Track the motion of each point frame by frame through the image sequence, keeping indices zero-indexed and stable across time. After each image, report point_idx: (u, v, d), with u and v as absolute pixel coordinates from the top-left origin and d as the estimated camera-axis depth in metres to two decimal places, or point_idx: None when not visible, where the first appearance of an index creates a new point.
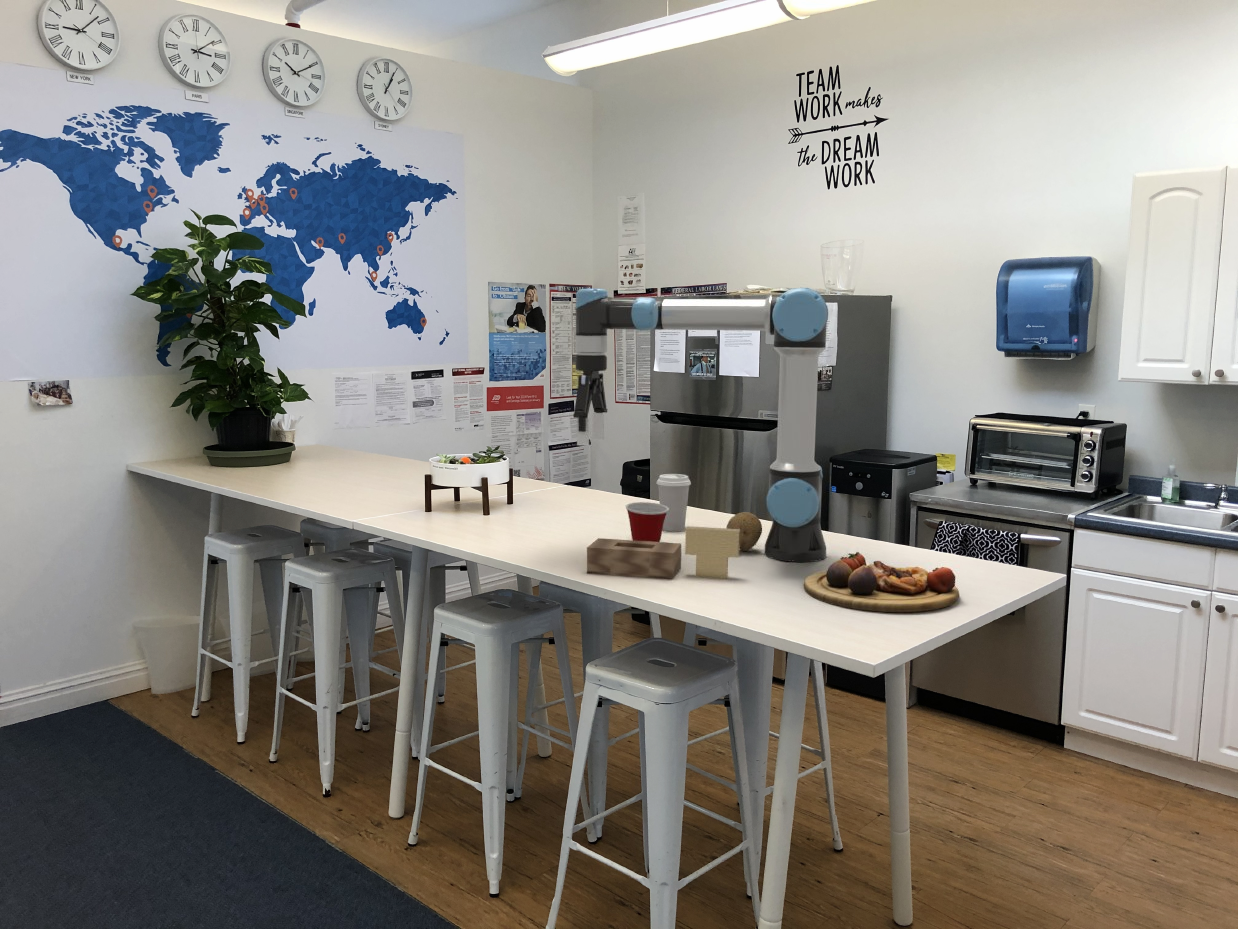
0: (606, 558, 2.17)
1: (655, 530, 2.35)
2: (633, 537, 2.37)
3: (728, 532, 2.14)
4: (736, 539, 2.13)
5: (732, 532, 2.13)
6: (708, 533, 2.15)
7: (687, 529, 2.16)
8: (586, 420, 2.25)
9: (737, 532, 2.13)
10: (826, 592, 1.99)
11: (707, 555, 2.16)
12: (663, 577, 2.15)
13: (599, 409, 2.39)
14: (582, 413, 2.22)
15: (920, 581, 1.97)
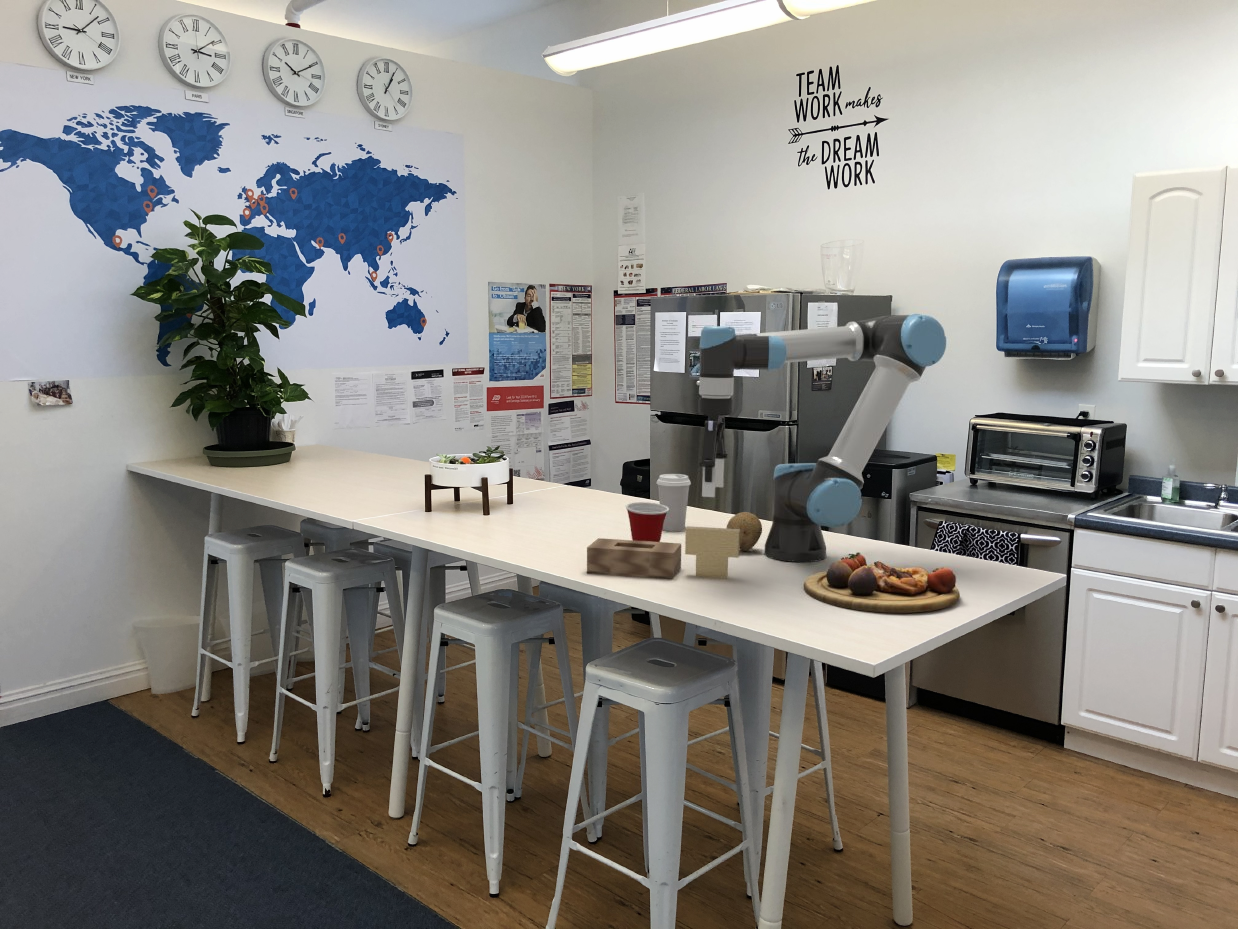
0: (606, 558, 2.17)
1: (655, 530, 2.35)
2: (633, 537, 2.37)
3: (728, 532, 2.14)
4: (736, 539, 2.13)
5: (732, 532, 2.13)
6: (708, 533, 2.15)
7: (687, 529, 2.16)
8: (713, 469, 2.06)
9: (737, 532, 2.13)
10: (826, 592, 1.98)
11: (707, 555, 2.16)
12: (663, 577, 2.15)
13: (719, 455, 2.20)
14: (710, 463, 2.03)
15: (920, 582, 1.96)
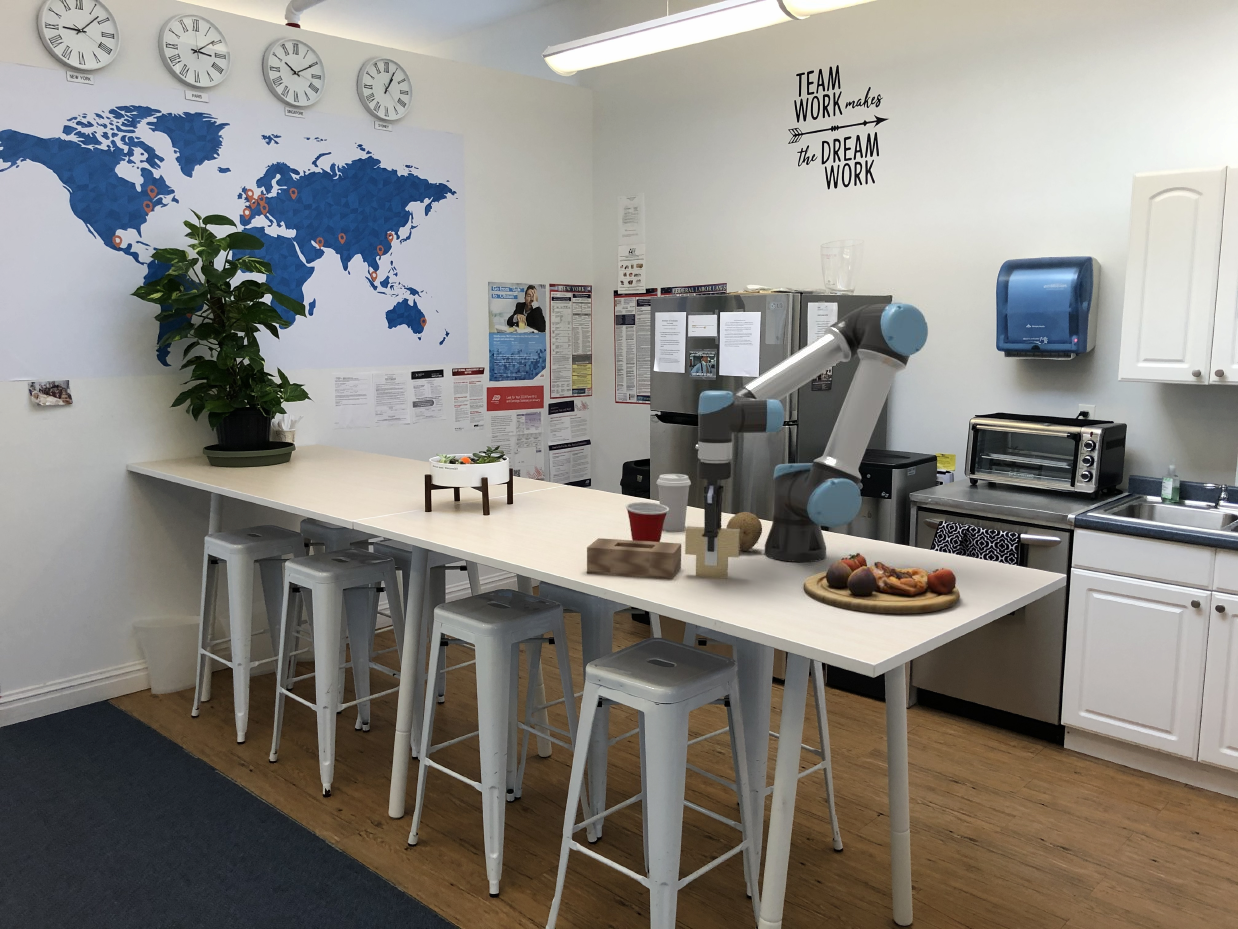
0: (606, 558, 2.17)
1: (655, 530, 2.35)
2: (633, 537, 2.37)
3: (728, 532, 2.14)
4: (736, 538, 2.13)
5: (732, 532, 2.13)
6: None
7: (687, 529, 2.16)
8: (715, 539, 2.14)
9: (737, 532, 2.13)
10: (825, 593, 1.98)
11: None
12: (663, 577, 2.15)
13: None
14: (713, 534, 2.11)
15: (920, 582, 1.96)
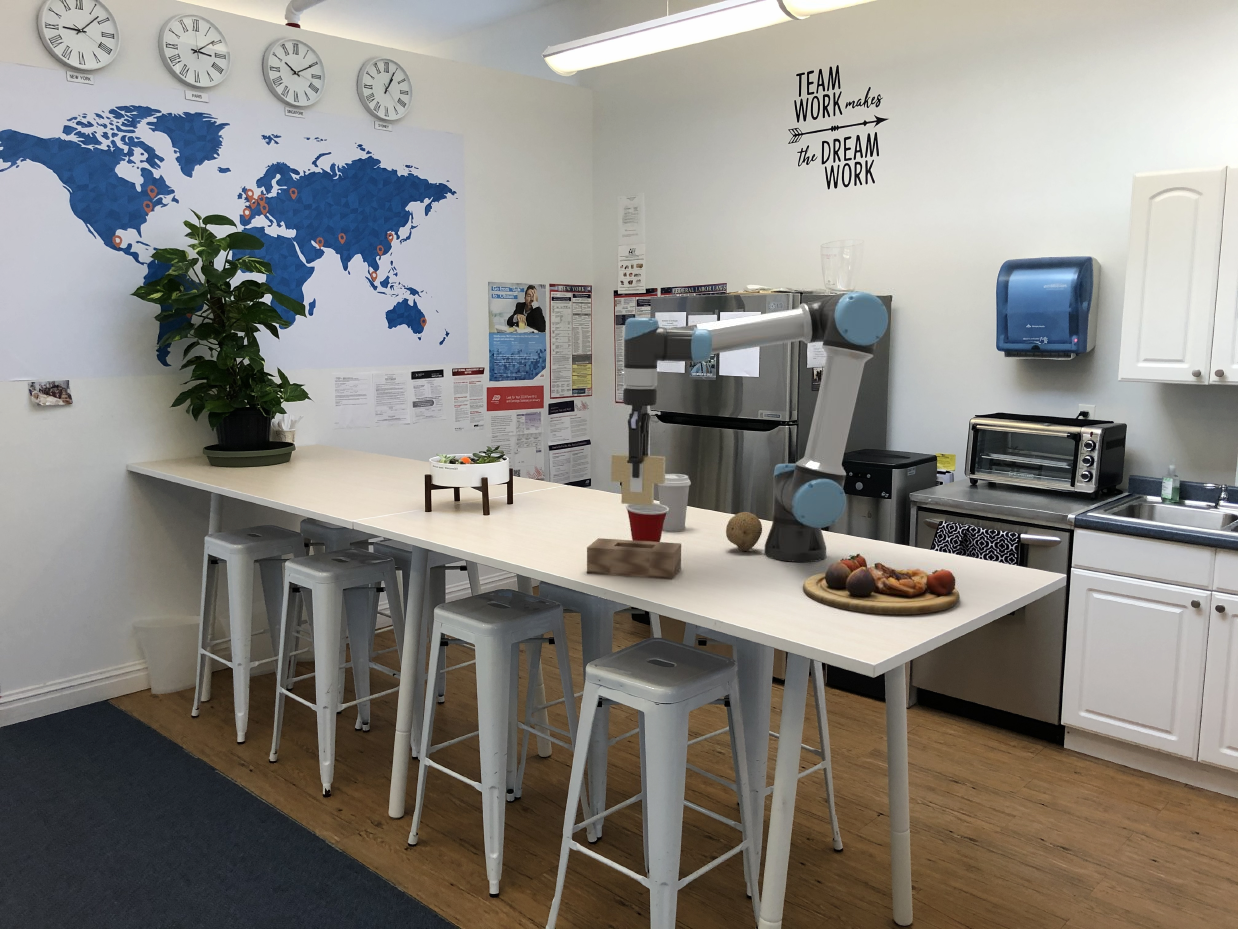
0: (606, 558, 2.17)
1: (655, 530, 2.35)
2: (633, 537, 2.37)
3: (653, 458, 2.15)
4: (661, 465, 2.15)
5: (657, 458, 2.15)
6: None
7: (613, 456, 2.18)
8: (640, 466, 2.16)
9: (662, 458, 2.15)
10: (824, 594, 1.97)
11: None
12: (663, 577, 2.15)
13: None
14: (637, 459, 2.13)
15: (919, 583, 1.95)
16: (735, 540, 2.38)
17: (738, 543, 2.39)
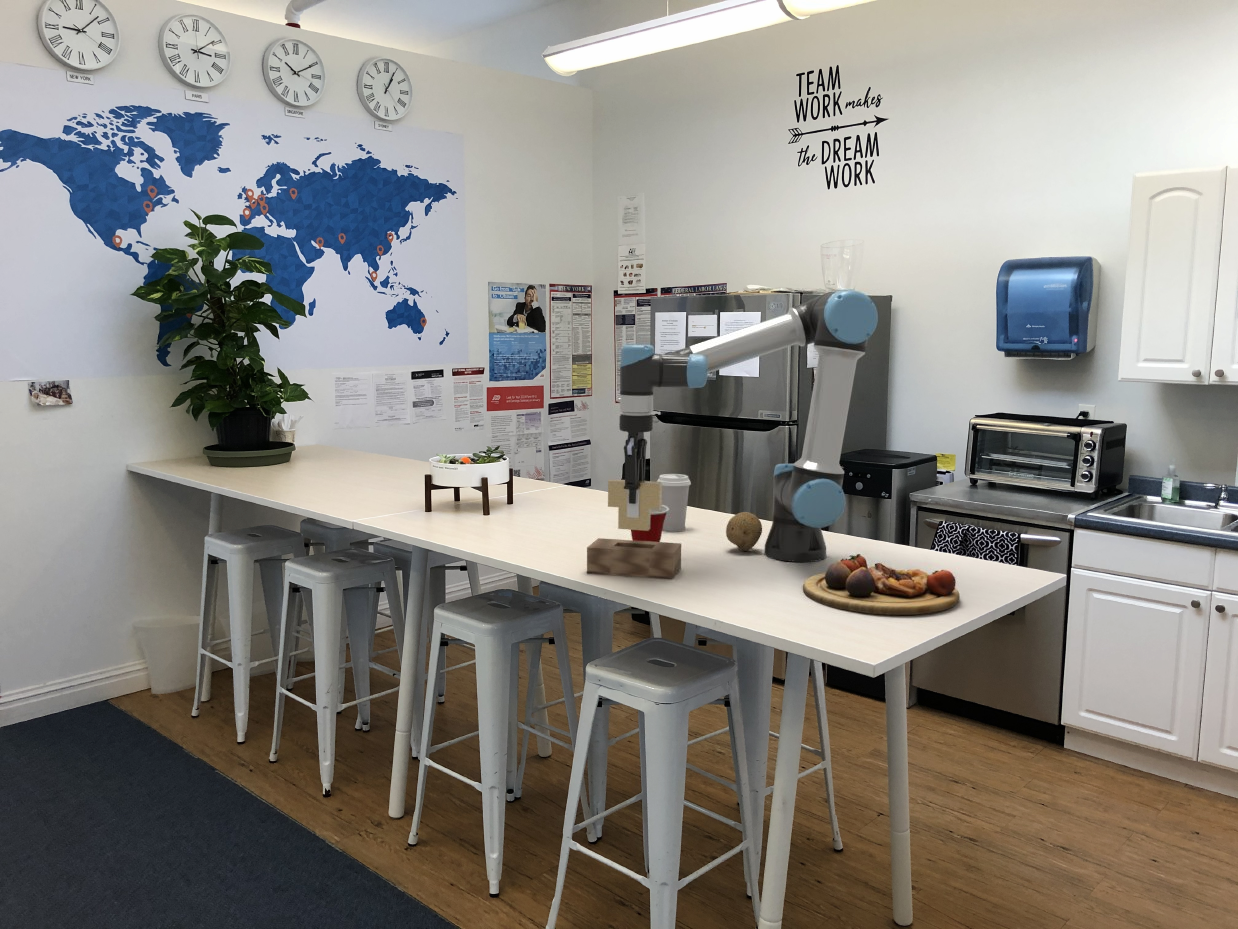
0: (606, 558, 2.17)
1: (655, 530, 2.35)
2: (633, 537, 2.37)
3: (649, 484, 2.17)
4: (657, 491, 2.16)
5: (653, 484, 2.16)
6: None
7: (609, 482, 2.19)
8: (637, 492, 2.17)
9: (658, 484, 2.16)
10: (824, 594, 1.97)
11: None
12: (663, 577, 2.15)
13: None
14: (633, 485, 2.14)
15: (919, 584, 1.95)
16: (735, 540, 2.38)
17: (738, 543, 2.39)
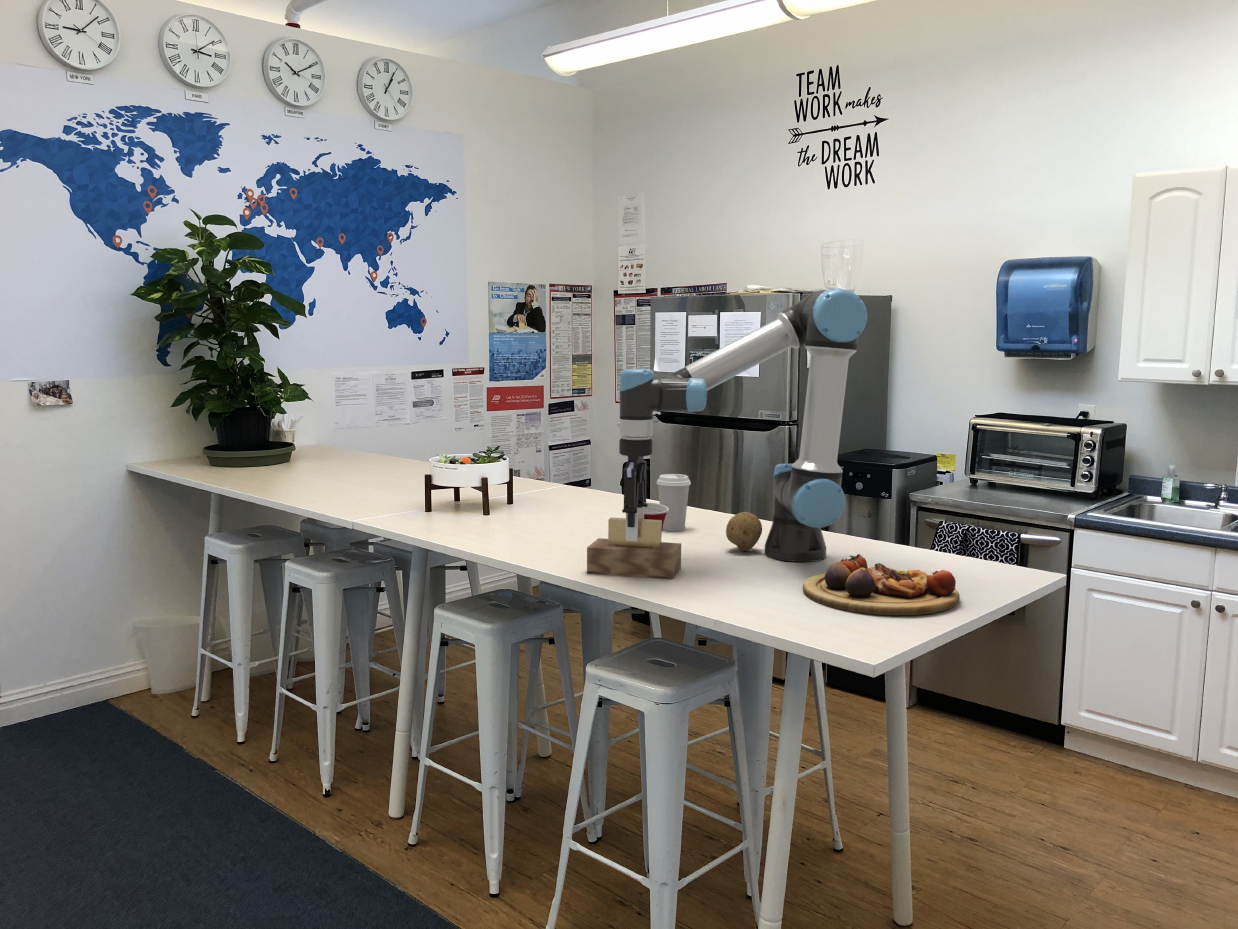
0: (606, 558, 2.17)
1: None
2: None
3: (649, 523, 2.18)
4: (657, 529, 2.18)
5: (653, 523, 2.18)
6: None
7: (610, 520, 2.20)
8: (635, 515, 2.16)
9: (658, 523, 2.17)
10: (823, 594, 1.97)
11: (629, 546, 2.20)
12: (663, 577, 2.15)
13: (639, 503, 2.23)
14: (632, 509, 2.13)
15: (919, 584, 1.94)
16: (735, 540, 2.38)
17: (738, 543, 2.39)
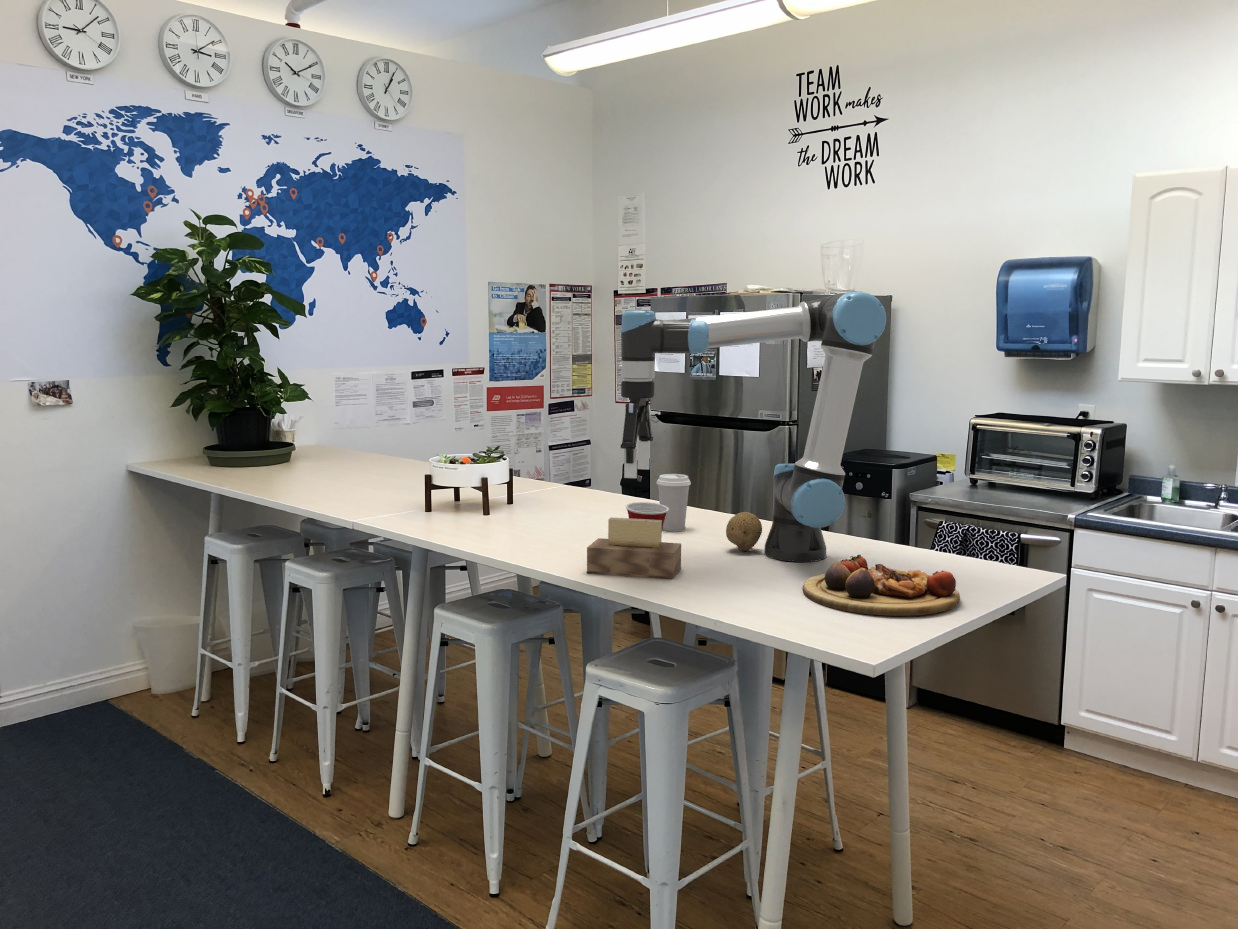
0: (606, 558, 2.17)
1: None
2: None
3: (649, 523, 2.18)
4: (657, 529, 2.18)
5: (653, 523, 2.18)
6: (630, 524, 2.19)
7: (610, 520, 2.20)
8: (634, 451, 2.11)
9: (658, 523, 2.17)
10: (823, 595, 1.97)
11: (629, 546, 2.20)
12: (663, 577, 2.15)
13: (644, 437, 2.24)
14: (630, 444, 2.08)
15: (919, 585, 1.94)
16: (735, 540, 2.38)
17: (738, 543, 2.39)
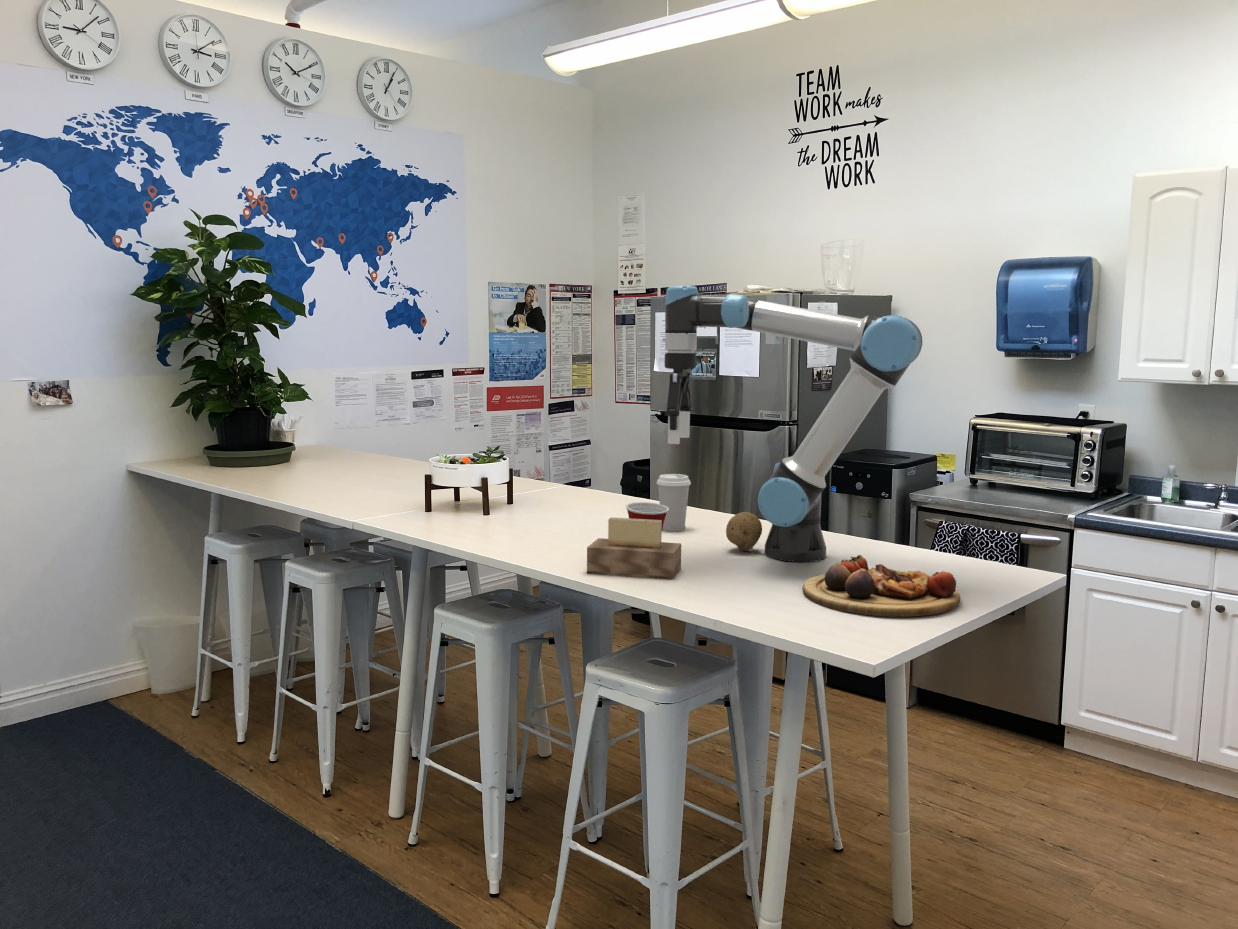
0: (606, 558, 2.17)
1: None
2: None
3: (649, 523, 2.18)
4: (657, 529, 2.18)
5: (653, 523, 2.18)
6: (630, 524, 2.19)
7: (610, 520, 2.20)
8: (677, 418, 2.23)
9: (658, 523, 2.17)
10: (823, 595, 1.96)
11: (629, 546, 2.20)
12: (663, 577, 2.15)
13: (685, 407, 2.37)
14: (674, 411, 2.20)
15: (919, 585, 1.93)
16: (735, 540, 2.38)
17: (738, 543, 2.39)
